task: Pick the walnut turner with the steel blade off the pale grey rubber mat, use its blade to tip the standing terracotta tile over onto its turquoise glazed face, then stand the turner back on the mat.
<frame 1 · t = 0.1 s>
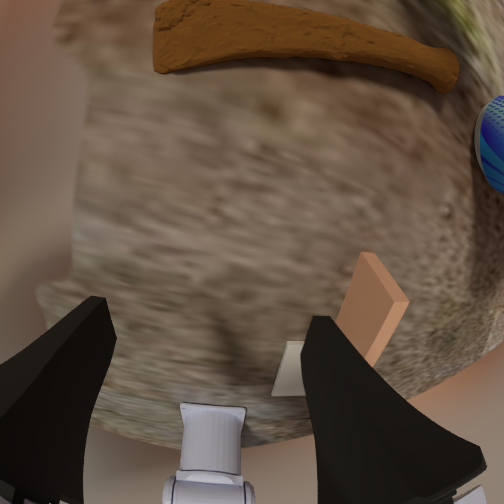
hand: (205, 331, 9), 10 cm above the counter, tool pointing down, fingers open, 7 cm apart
primitive tool: (306, 42, 13), on the counter
tile: (352, 294, 21), on the counter
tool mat: (320, 369, 26), on the counter
beer can: (495, 140, 15), on the counter
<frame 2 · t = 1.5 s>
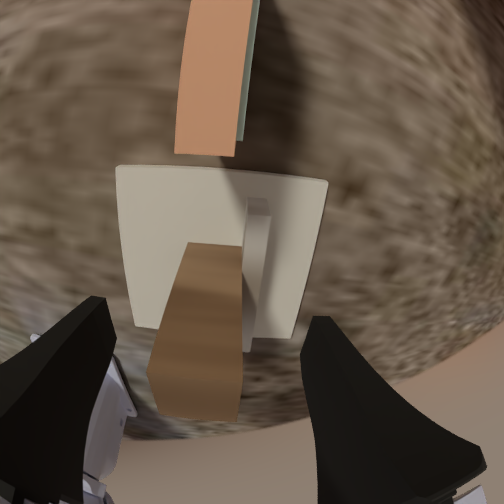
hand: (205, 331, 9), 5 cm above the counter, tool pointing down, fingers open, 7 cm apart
tile: (233, 42, 8), on the counter
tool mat: (214, 261, 13), on the counter
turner: (213, 267, 13), resting on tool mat
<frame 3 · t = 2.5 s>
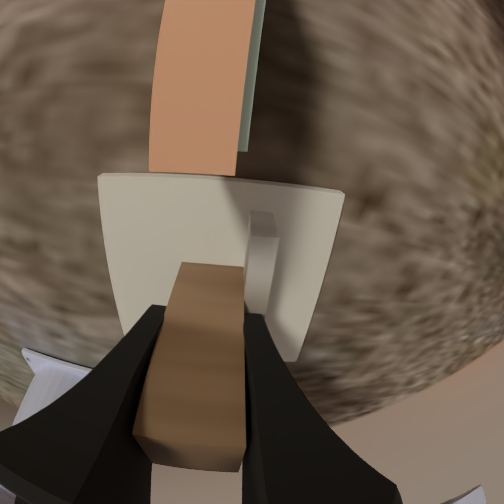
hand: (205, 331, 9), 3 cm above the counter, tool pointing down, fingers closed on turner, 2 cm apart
tile: (234, 28, 7), on the counter
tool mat: (212, 282, 12), on the counter
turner: (211, 289, 11), resting on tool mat, touching gripper
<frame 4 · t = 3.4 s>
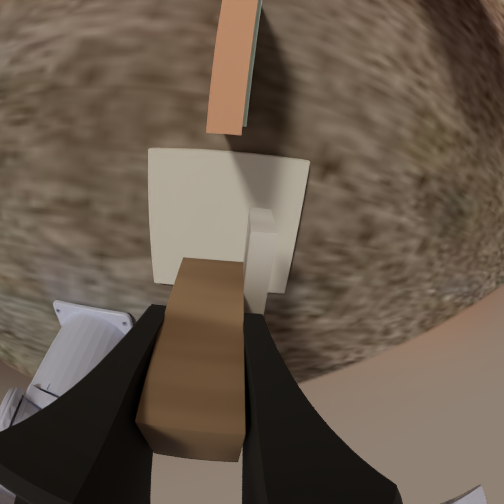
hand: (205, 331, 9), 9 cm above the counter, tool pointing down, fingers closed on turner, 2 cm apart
tile: (238, 57, 12), on the counter
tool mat: (222, 224, 17), on the counter
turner: (212, 284, 11), point 6 cm above the counter, touching gripper
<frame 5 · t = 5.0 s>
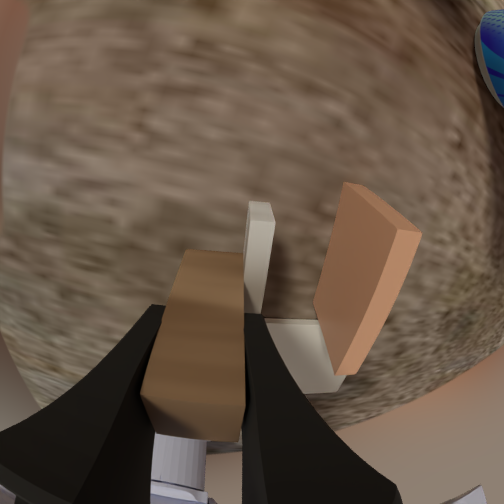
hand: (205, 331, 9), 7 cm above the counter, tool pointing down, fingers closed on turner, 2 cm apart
tile: (337, 248, 16), on the counter
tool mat: (301, 360, 20), on the counter
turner: (213, 275, 12), point 3 cm above the counter, touching gripper
beer can: (500, 65, 9), on the counter
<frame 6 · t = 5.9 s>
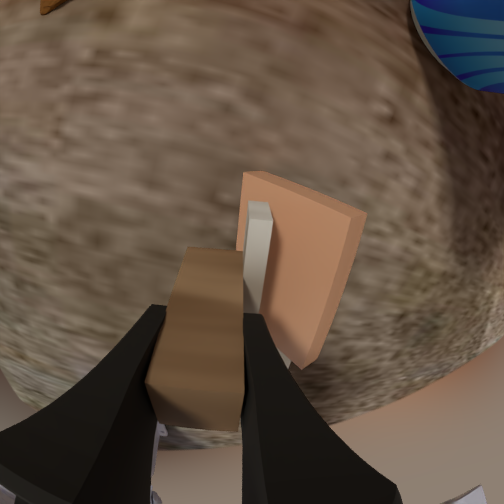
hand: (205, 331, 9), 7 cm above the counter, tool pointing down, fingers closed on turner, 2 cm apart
tile: (245, 244, 15), on the counter, tilted 37°
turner: (214, 272, 12), point 3 cm above the counter, touching gripper
beer can: (451, 29, 9), on the counter
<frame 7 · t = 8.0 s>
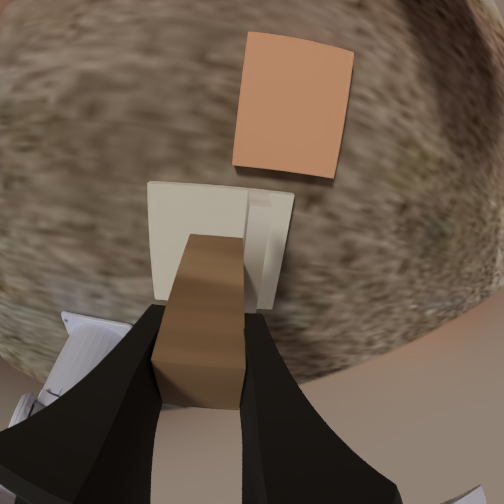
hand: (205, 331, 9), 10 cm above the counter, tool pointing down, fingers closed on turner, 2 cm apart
tile: (239, 96, 14), on the counter, tilted 90°
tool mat: (215, 249, 19), on the counter
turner: (215, 258, 13), point 5 cm above the counter, touching gripper
when the fingers open (4 cm above the counter, at t = 9.6 s): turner stays where it is, resting on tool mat.
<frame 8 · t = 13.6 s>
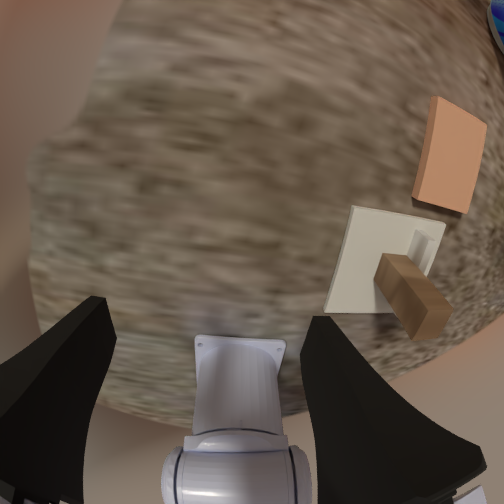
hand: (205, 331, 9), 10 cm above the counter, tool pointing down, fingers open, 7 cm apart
tile: (425, 146, 16), on the counter, tilted 90°
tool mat: (386, 265, 20), on the counter
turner: (390, 267, 20), resting on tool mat
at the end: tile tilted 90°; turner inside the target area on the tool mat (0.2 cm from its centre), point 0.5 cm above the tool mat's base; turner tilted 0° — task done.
